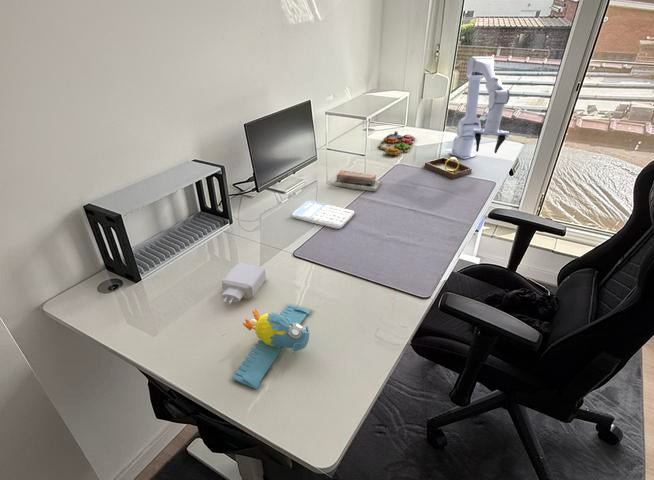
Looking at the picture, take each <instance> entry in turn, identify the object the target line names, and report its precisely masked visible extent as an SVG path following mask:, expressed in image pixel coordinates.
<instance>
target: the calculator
mask: <svg viewBox="0 0 654 480" xmlns="http://www.w3.org/2000/svg"><path fill="white" fill-rule="evenodd" d="M291 216H292V218H294V219H297V220H300V221H304V222H308V223H312V224H317V225H320V226H324V227H327V228H330V229H331V228H332V229H337V230H339V229H342V228H343V227H344V226H345V225H346V224H347V223H348V222H349V221H350V220H351V219H352V218H353V217H354V216H355V211H354V210H353V209H348V208H344V207H339V206H335V205H331V204H327V203H322V202H318V201H314V200H307V201H305V203H303V204H302V205H301V206H299V207H298V208H297V209H296V210H294V211H293V212H292V215H291Z"/></svg>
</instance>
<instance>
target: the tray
mask: <svg viewBox="0 0 654 480" xmlns="http://www.w3.org/2000/svg"><path fill="white" fill-rule="evenodd" d="M448 159H449V158H447V157H445V156H444V157H443V156H442V157H438V158H436V159H431V160H428V161H425V162H424V168H426V169H428V170H431V171H433V172H435V173H437V174H440V175H442V176H444V177H446V178H450V179H451V180H454V179H457V178H460V177H463V176H468V175H471V174H472V170H473V168H472V167H469V166H467V165H464V164H462V163H460V162H459V167H458V169H457V170H456V171H454V172H453V171H447V170H446V168H445V163H446V161H447V160H448ZM457 166H458V163H457V161H452V160H449V161H448V162H447V163H446V167H447V169H451V170H454V169H456V168H457Z"/></svg>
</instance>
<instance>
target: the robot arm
mask: <svg viewBox="0 0 654 480" xmlns="http://www.w3.org/2000/svg"><path fill="white" fill-rule="evenodd" d="M494 66H495V58H494V57H493V56H470V58H468V62H467V64H466V77H467V79H468V86H467V96H466V105H465V115H464V116H463V117H462V118H461V119H460V120H458V124H457V127H456V136H455V137H454V139H453V142H452V146H451V152H449V154H450V155H452V156H454V157H456V158H457V157H458V158H460V159H463V160H466V159H467V160H468V159H470V158H474V157H476V155H475V154H473V150H474V144H475V145H476V147H475V148H476V149H475V151H476V152H477V153H478V152H479V149H480V143H481V140H482V136H493V137H495V136H497V139H496V144H495V147H494V150H493V151H494V152H493V153H494V154H497V152H498V150H499V148H500V147H501V145H502V144H503V143H504V142H505V140H506V138H509V136H510V131H508V130H502V129H500V126H501V121H502V118H503V113H504V109H505V105H507V104H508V102H509V100H510V96H511V95H510V90H509V89H508V88H505V87H504V86H503V84H502V81H501V79H500V78H499V77H498V76H496V74H495V71H494ZM483 78H484V79H485V81H486V82H485V88H486V91H487V92H488V105H487V108H488V111H487V115H486V120H485V124H484V128H482V126H481V120H480V118H479V117H477V111H478V103H479V96H480V85H481V80H482V79H483Z"/></svg>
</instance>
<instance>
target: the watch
mask: <svg viewBox="0 0 654 480" xmlns="http://www.w3.org/2000/svg"><path fill="white" fill-rule="evenodd" d="M447 159H448V160H447V161H446V163H447V162H448V161H449V160H452V161H455V162H457V163H458V166H457V168H456V169H454V170H451V169H447V167H446V163H445V168H446V170H447V171H453V172H454V171H456V170H457V169H458V167H459V163H460V162H459V160H458V159H457V157H456V156H451V157H450V158H447Z"/></svg>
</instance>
